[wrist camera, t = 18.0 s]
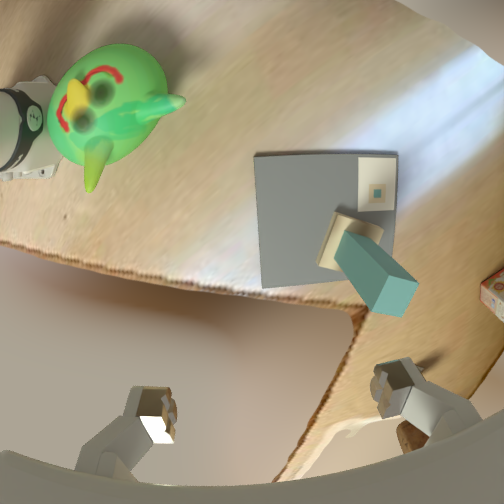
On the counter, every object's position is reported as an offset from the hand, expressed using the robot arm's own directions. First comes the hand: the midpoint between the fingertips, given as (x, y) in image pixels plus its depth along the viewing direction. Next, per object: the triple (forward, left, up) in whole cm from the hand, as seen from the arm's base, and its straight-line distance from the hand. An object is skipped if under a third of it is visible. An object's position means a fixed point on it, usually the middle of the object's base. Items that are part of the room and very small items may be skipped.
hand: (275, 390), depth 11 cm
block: (+47, -74, -39) cm, 96 cm away
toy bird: (-17, +15, -39) cm, 45 cm away
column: (+17, -10, -36) cm, 41 cm away
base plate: (+14, -6, -39) cm, 42 cm away
